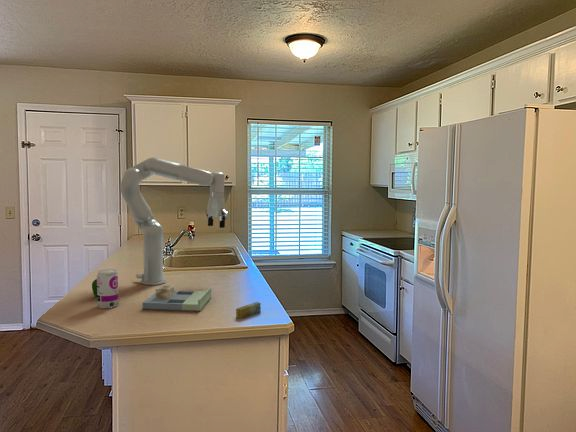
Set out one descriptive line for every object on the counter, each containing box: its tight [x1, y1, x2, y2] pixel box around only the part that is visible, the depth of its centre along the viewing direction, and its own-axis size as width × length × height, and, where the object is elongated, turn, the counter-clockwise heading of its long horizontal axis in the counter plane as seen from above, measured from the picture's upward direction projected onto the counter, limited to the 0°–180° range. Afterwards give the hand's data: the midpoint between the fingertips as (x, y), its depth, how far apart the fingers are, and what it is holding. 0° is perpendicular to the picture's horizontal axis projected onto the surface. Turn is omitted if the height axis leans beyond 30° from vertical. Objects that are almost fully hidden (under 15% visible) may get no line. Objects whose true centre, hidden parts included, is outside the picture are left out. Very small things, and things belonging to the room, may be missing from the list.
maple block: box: [155, 285, 175, 299], centre depth 188 cm, size 6×6×4 cm
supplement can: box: [96, 268, 119, 309], centre depth 182 cm, size 8×8×15 cm
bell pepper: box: [91, 278, 97, 298], centre depth 196 cm, size 8×8×10 cm
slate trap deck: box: [142, 287, 212, 313], centre depth 188 cm, size 24×20×5 cm
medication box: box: [235, 301, 262, 320], centre depth 176 cm, size 12×3×4 cm, turn 142°
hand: (216, 226), depth 236 cm, fingers open, 9 cm apart
